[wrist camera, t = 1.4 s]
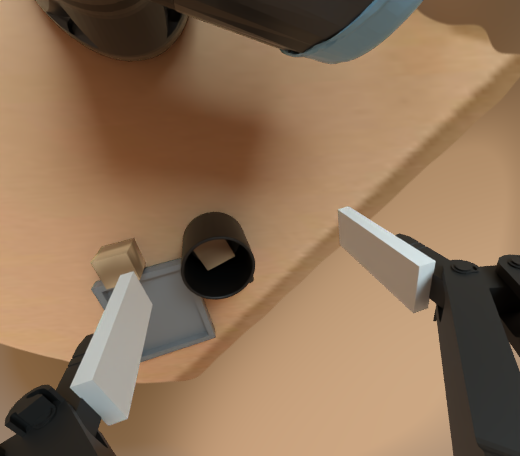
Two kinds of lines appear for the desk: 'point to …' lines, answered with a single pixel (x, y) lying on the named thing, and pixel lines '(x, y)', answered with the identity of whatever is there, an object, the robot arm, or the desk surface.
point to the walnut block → (214, 252)
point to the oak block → (118, 262)
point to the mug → (226, 274)
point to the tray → (168, 310)
